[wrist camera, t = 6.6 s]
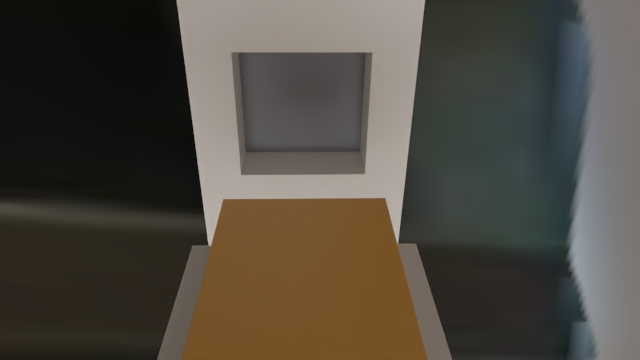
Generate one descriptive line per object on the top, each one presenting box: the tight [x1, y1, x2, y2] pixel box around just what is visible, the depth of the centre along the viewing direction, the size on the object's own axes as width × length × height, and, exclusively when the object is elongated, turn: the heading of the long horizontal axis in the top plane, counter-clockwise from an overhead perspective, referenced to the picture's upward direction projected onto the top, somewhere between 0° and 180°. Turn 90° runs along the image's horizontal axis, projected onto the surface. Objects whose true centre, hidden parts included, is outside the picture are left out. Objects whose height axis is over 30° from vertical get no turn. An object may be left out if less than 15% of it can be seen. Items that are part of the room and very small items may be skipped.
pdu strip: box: [177, 0, 425, 246], centre depth 27 cm, size 22×10×3 cm, turn 0°
